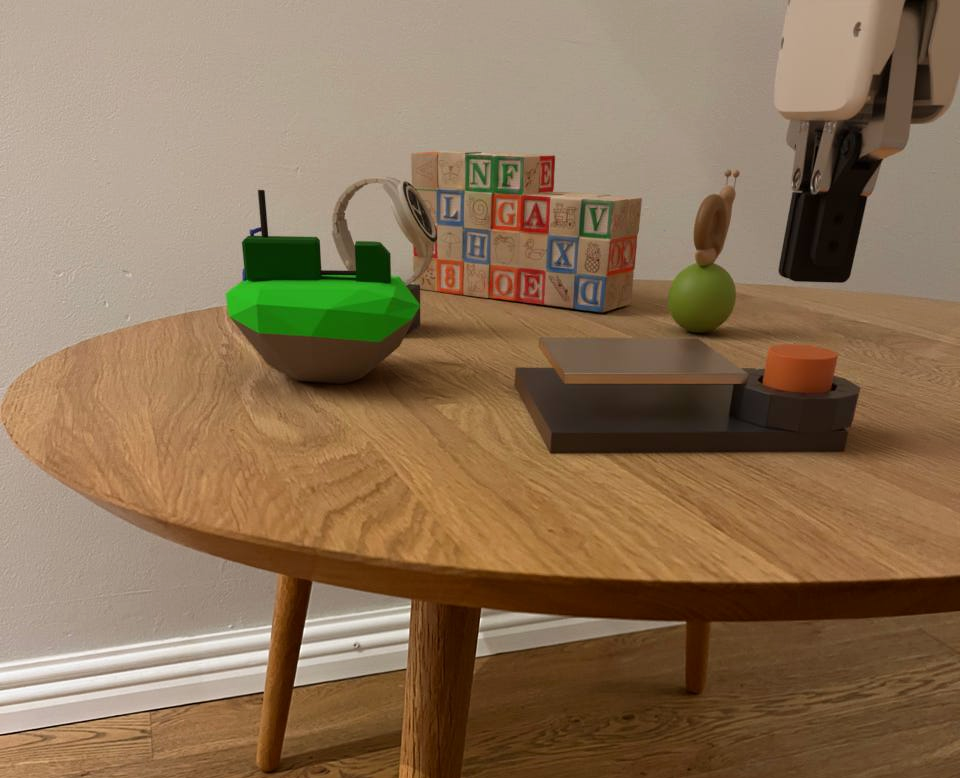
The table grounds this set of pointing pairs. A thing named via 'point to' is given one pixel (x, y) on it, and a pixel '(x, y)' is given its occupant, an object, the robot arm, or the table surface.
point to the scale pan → (639, 361)
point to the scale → (685, 416)
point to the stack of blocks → (524, 232)
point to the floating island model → (318, 307)
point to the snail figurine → (706, 269)
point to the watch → (409, 218)
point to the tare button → (800, 368)
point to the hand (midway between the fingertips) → (812, 278)
